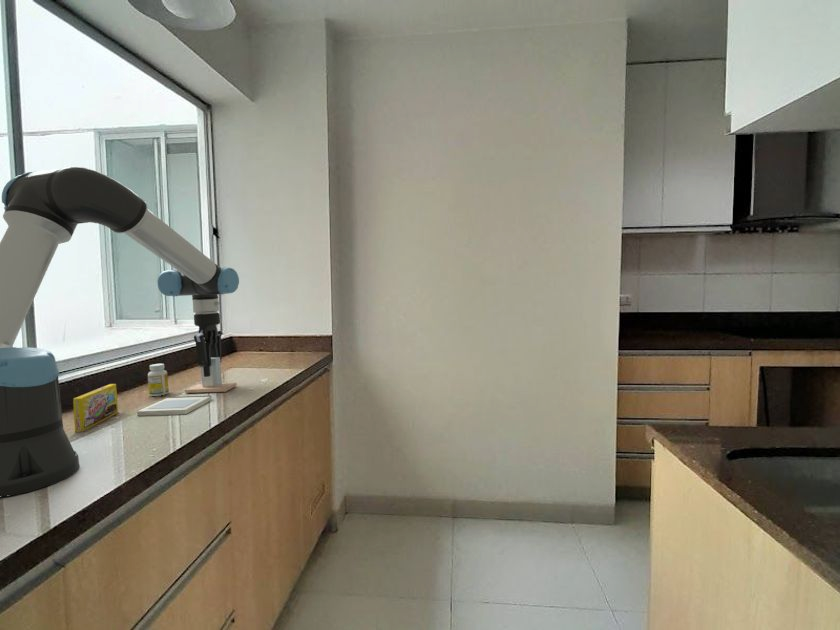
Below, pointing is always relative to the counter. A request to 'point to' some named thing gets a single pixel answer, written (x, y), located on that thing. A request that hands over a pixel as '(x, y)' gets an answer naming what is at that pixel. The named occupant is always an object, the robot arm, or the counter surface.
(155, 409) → the board
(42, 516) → the counter surface
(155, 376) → the supplement bottle
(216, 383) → the stub
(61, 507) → the counter surface
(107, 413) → the candy box
